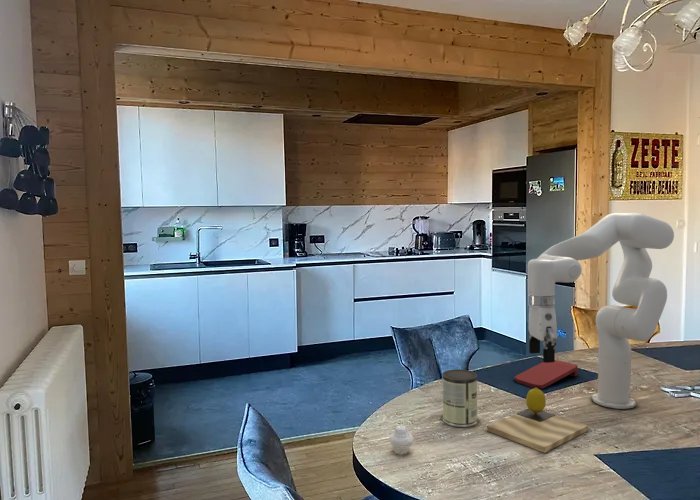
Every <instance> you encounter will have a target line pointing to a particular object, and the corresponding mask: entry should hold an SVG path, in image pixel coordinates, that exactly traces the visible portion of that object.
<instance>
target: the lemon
mask: <svg viewBox="0 0 700 500" xmlns="http://www.w3.org/2000/svg"><path fill="white" fill-rule="evenodd" d="M525 404H526V407H527V409H528V408H529V410H531V411H532V412H534V414H537V413H539V412H541V411H544V409H545V408H546V405H547V401H546V395H545V393H544V392H543V391H542V390H541V389H540V388H532V389H529V390H528V391H527V394H526V399H525Z"/></svg>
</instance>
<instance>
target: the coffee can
mask: <svg viewBox="0 0 700 500" xmlns="http://www.w3.org/2000/svg"><path fill="white" fill-rule="evenodd" d="M441 376H442V421H443V422H444V423H445V424H446V425H449V426H451V427H456V428H470V427H473V426H475V425H477V423H478V378H479V375H478V373H476V372H474V371H471V370H467V369H448V370H445V371H443V372H442V375H441Z"/></svg>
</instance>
